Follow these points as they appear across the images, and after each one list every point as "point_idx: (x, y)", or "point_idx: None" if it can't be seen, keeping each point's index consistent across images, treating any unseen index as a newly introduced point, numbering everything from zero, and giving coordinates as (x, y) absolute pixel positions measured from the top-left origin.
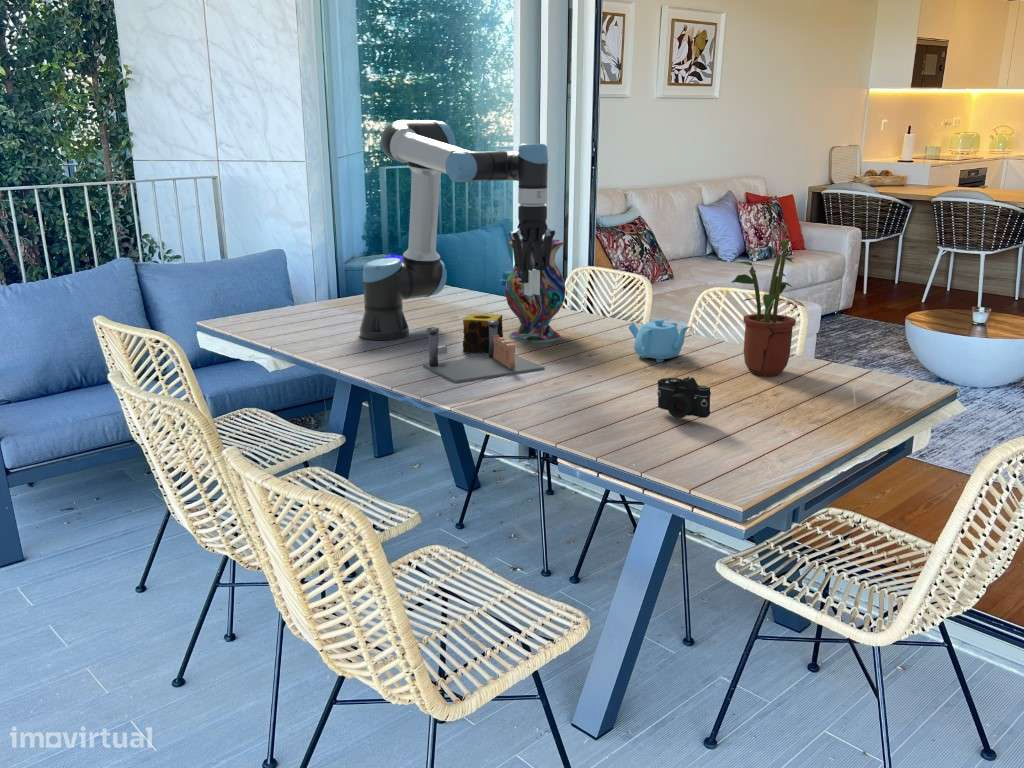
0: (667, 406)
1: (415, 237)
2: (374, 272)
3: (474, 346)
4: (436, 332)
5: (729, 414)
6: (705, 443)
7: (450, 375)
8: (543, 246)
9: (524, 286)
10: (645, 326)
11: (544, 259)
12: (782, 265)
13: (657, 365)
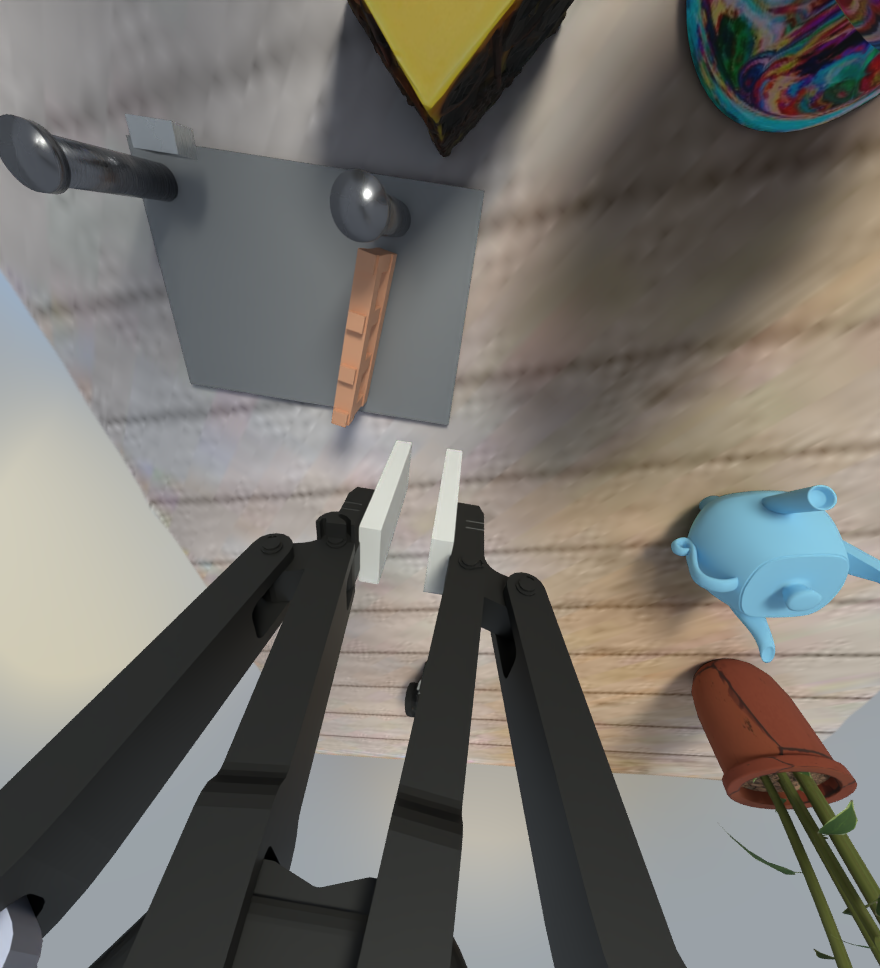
0: (408, 689)
1: None
2: None
3: (376, 46)
4: (57, 193)
5: (482, 700)
6: (384, 713)
7: (190, 333)
8: (549, 778)
9: (387, 465)
10: (753, 575)
11: (542, 631)
12: None
13: (667, 551)
